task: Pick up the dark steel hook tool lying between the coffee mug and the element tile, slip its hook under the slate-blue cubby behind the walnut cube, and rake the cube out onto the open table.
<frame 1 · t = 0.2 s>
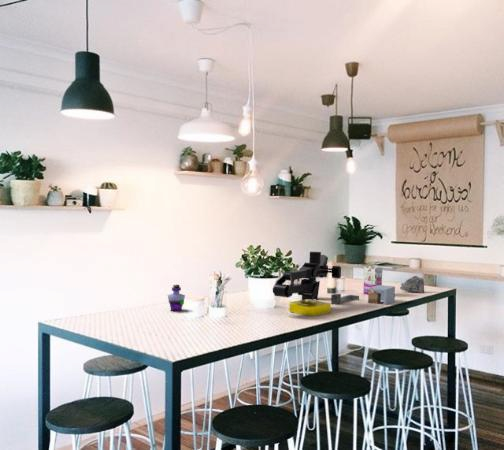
hand: (330, 270, 280), 17 cm above the table, tool horizontal, fingers open, 9 cm apart
mineral rock: (413, 292, 319), on the table
potion bottle: (176, 310, 248), on the table
cubby: (381, 302, 280), on the table
hook tool: (335, 303, 272), on the table
candy bar box: (372, 295, 304), on the table
cube: (374, 302, 278), on the table
coffee mug: (311, 298, 288), on the table
element tile: (309, 312, 248), on the table, touching arm
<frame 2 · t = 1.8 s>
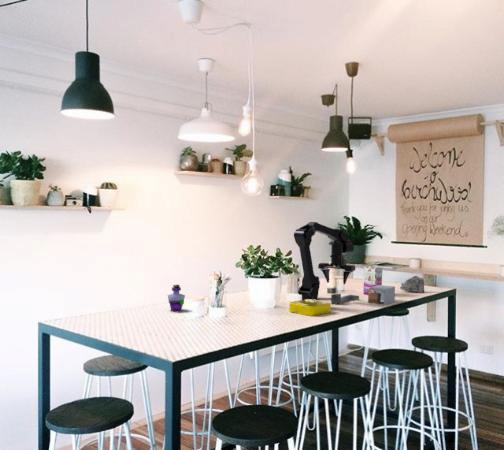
hand: (336, 283, 272), 11 cm above the table, tool pointing down, fingers open, 9 cm apart
nothing on the table moved.
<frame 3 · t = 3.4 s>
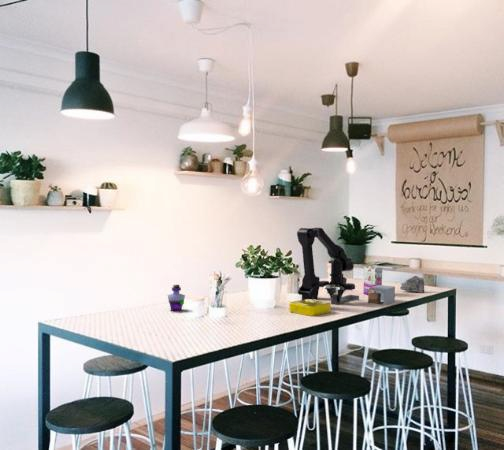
hand: (335, 301, 272), 1 cm above the table, tool pointing down, fingers closed on hook tool, 3 cm apart
hook tool: (335, 303, 272), on the table, touching gripper
everything else where it was.
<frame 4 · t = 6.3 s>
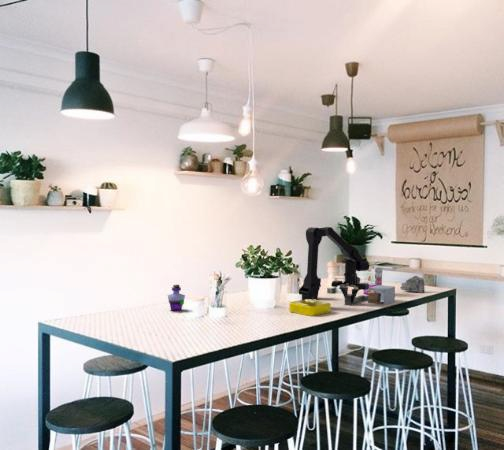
hand: (349, 301, 271), 1 cm above the table, tool pointing down, fingers closed on hook tool, 3 cm apart
hook tool: (349, 304, 271), on the table, touching gripper
everything else where it was.
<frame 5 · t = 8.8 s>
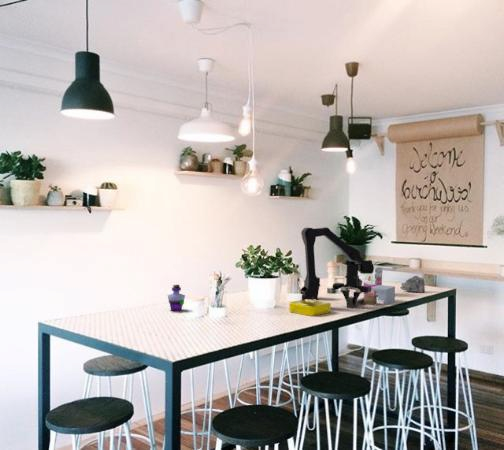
hand: (351, 304, 263), 1 cm above the table, tool pointing down, fingers closed on hook tool, 3 cm apart
hook tool: (351, 307, 263), on the table, touching cube, gripper
cube: (370, 304, 273), on the table, touching hook tool
when the fingers open (1 cm above the table, at t = 9.5 s): hook tool stays where it is, on the table.
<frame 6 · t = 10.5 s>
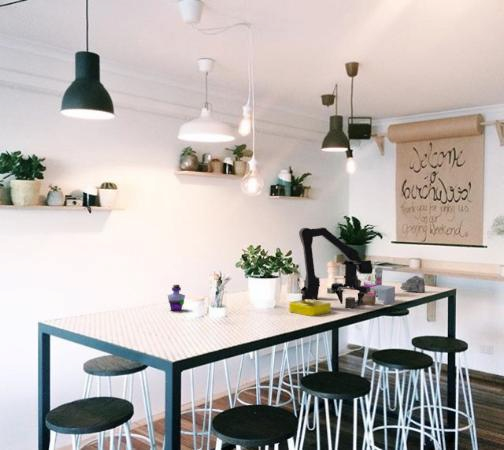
hand: (350, 304, 262), 1 cm above the table, tool pointing down, fingers open, 9 cm apart
hook tool: (350, 307, 262), on the table
cube: (369, 304, 272), on the table
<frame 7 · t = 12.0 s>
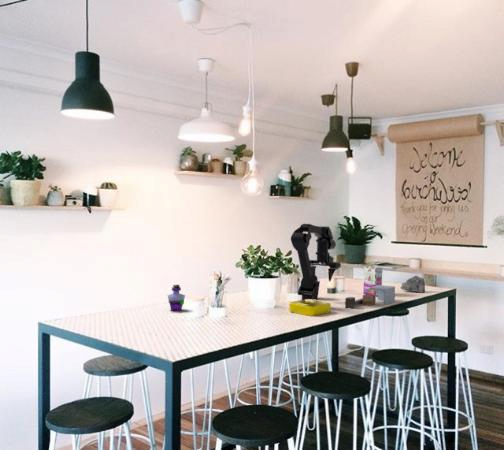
hand: (321, 280, 272), 12 cm above the table, tool pointing down, fingers open, 9 cm apart
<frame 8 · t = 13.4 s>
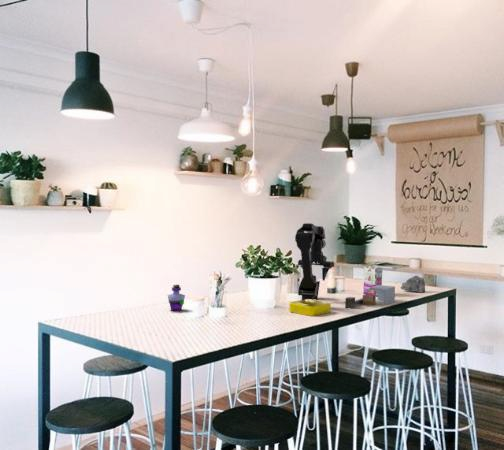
hand: (315, 279, 274), 12 cm above the table, tool pointing down, fingers open, 9 cm apart
at the end: cube inside the target area (3.2 cm from its centre), on the table; the gripper is holding nothing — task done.
